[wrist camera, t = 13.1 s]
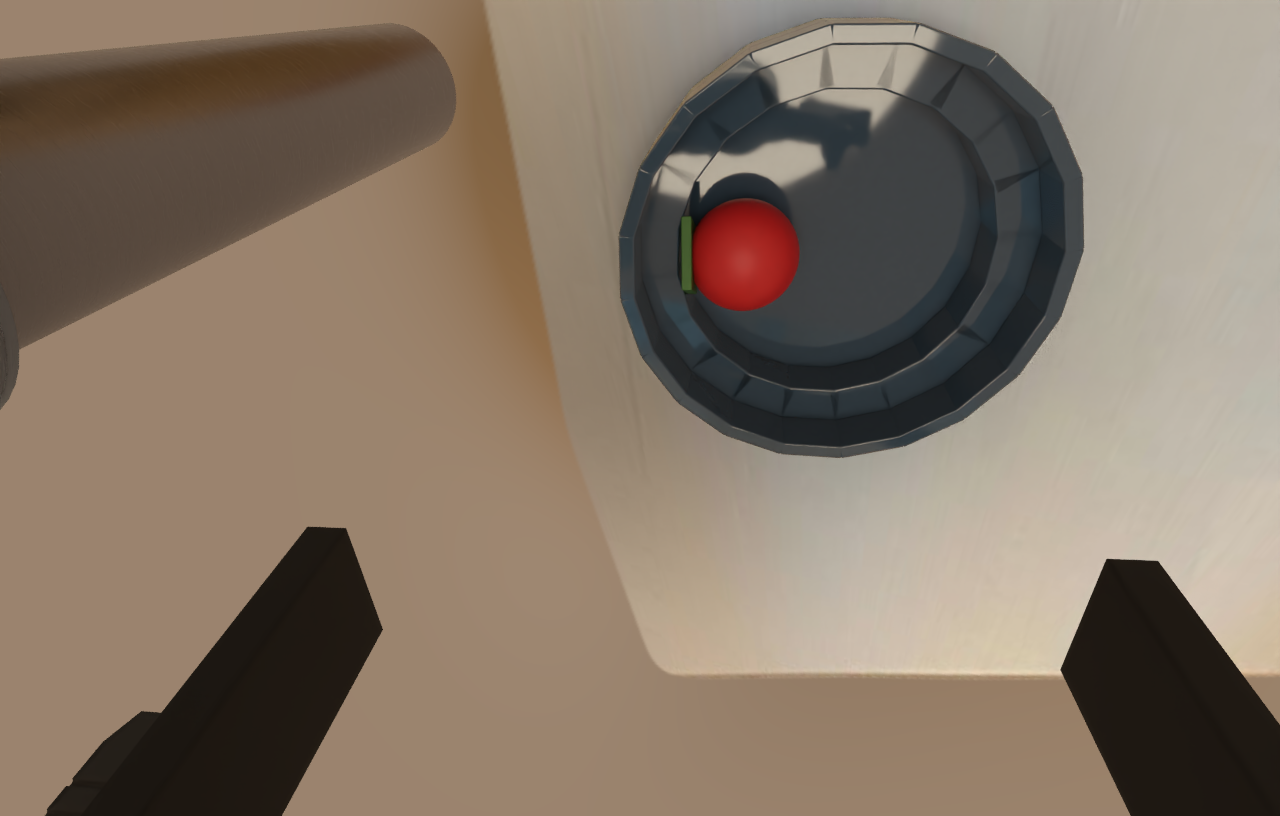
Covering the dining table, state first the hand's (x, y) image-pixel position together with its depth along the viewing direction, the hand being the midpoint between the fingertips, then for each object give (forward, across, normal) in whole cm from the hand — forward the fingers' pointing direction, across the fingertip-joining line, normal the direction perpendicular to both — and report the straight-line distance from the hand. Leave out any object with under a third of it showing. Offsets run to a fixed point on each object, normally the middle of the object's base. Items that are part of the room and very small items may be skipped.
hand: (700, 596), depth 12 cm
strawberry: (+18, +3, 0) cm, 18 cm away
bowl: (+21, +4, 0) cm, 21 cm away
